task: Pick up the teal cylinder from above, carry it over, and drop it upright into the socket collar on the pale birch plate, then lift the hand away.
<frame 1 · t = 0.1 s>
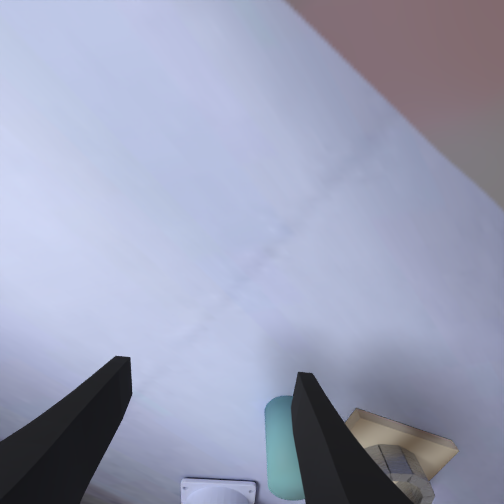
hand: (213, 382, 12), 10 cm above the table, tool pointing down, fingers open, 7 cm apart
dock plate: (375, 460, 28), on the table
teal cylinder: (285, 411, 26), on the table
socket collar: (385, 485, 26), on the dock plate, point 2 cm above the table
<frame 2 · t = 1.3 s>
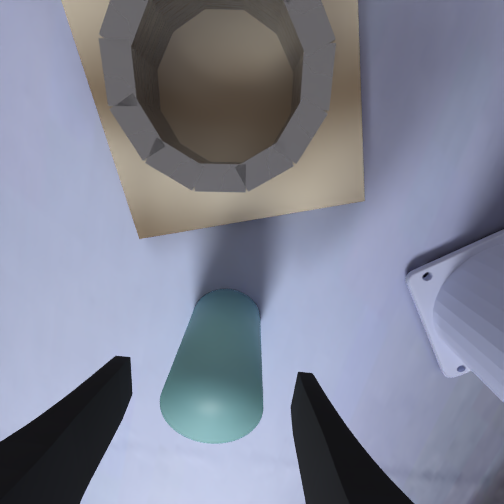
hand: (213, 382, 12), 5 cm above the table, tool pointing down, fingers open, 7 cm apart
dock plate: (227, 96, 12), on the table
teal cylinder: (226, 319, 16), on the table
socket collar: (222, 84, 10), on the dock plate, point 2 cm above the table
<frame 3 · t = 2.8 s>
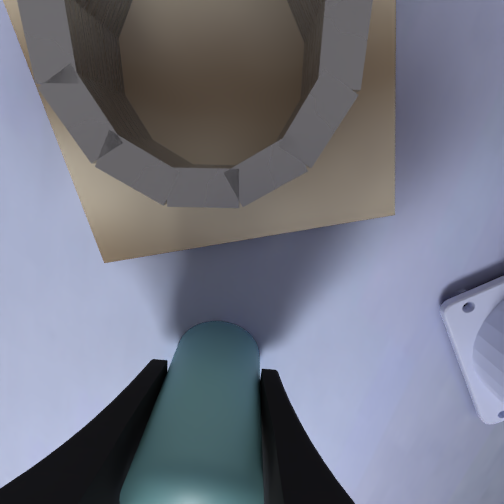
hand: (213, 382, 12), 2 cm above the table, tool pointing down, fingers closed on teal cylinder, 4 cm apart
dock plate: (216, 78, 9), on the table
teal cylinder: (218, 356, 13), on the table, touching gripper
socket collar: (205, 56, 7), on the dock plate, point 2 cm above the table
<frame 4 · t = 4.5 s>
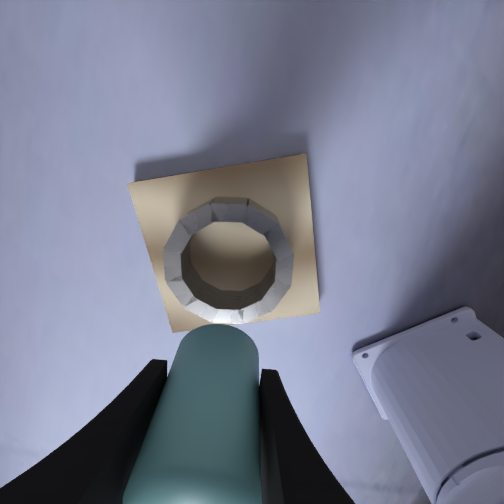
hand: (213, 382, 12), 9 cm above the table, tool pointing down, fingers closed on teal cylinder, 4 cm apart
dock plate: (232, 248, 19), on the table
teal cylinder: (218, 357, 13), point 7 cm above the table, touching gripper
socket collar: (230, 260, 17), on the dock plate, point 2 cm above the table
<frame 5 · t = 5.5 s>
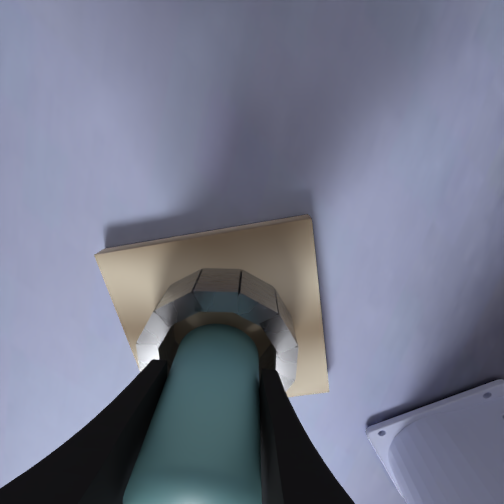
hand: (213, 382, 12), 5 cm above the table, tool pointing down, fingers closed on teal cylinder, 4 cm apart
dock plate: (224, 319, 16), on the table
teal cylinder: (218, 357, 13), point 3 cm above the table, touching gripper
socket collar: (220, 344, 14), on the dock plate, point 2 cm above the table
when the fingers open (4 cm above the table, at t = 6.4 s): teal cylinder drops 1 cm, resting on dock plate.
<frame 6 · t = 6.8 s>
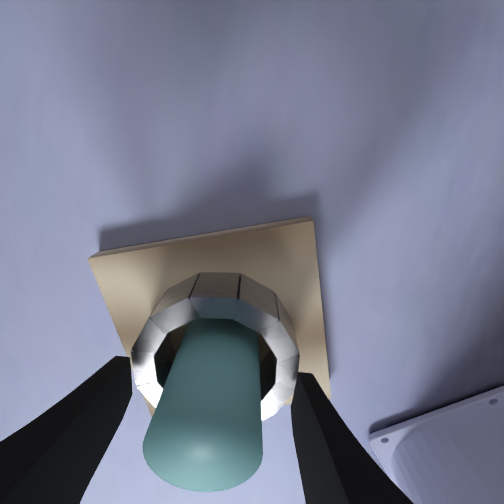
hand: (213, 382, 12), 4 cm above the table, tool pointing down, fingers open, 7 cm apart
dock plate: (223, 324, 16), on the table
teal cylinder: (221, 339, 15), point 1 cm above the table, touching dock plate
socket collar: (219, 351, 13), on the dock plate, point 2 cm above the table
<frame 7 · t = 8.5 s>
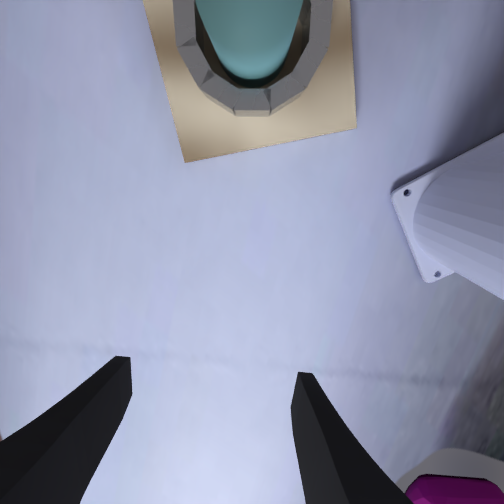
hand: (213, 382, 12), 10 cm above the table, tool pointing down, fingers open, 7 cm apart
dock plate: (252, 49, 16), on the table
teal cylinder: (252, 47, 15), point 1 cm above the table, touching dock plate
socket collar: (252, 33, 14), on the dock plate, point 2 cm above the table
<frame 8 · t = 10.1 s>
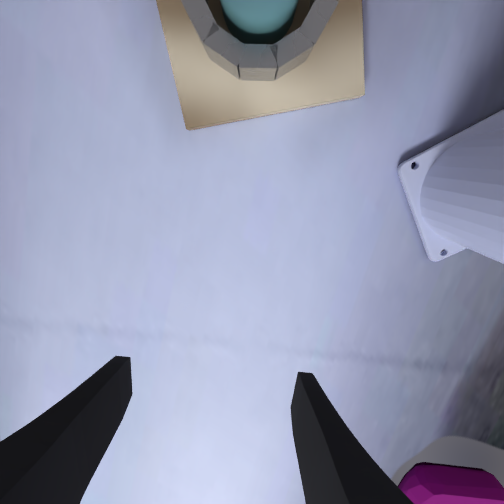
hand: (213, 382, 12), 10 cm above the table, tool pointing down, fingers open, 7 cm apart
dock plate: (258, 10, 16), on the table
teal cylinder: (259, 5, 15), point 1 cm above the table, touching dock plate
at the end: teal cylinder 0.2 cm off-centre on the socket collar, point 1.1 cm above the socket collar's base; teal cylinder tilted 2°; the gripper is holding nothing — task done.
